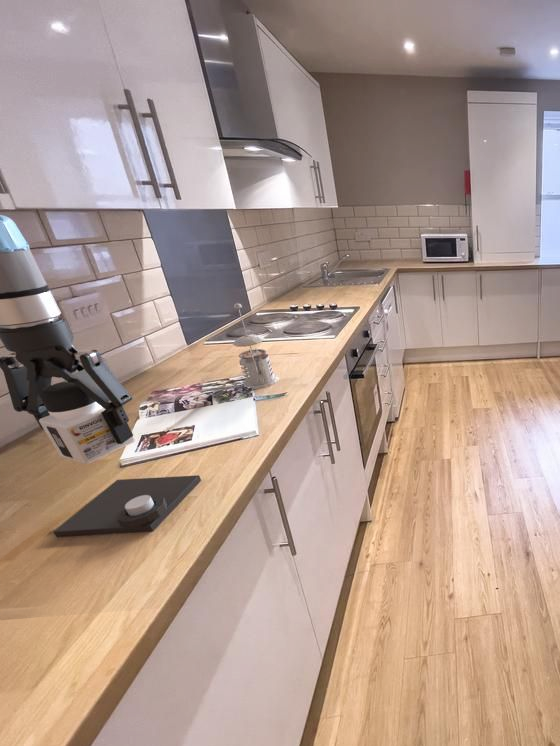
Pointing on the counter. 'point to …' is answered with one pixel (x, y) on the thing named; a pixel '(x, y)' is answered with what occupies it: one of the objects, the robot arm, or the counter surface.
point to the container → (77, 424)
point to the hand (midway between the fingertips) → (95, 441)
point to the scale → (113, 517)
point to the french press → (254, 361)
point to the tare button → (139, 505)
